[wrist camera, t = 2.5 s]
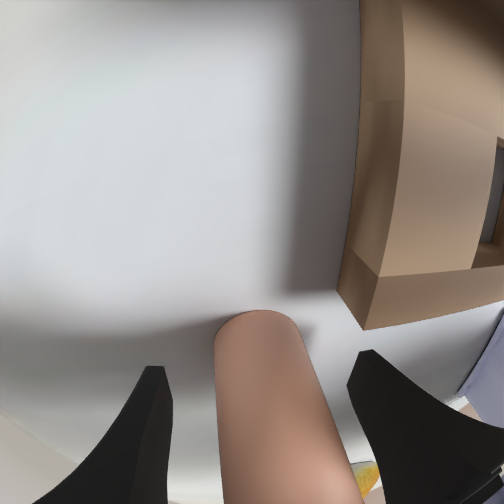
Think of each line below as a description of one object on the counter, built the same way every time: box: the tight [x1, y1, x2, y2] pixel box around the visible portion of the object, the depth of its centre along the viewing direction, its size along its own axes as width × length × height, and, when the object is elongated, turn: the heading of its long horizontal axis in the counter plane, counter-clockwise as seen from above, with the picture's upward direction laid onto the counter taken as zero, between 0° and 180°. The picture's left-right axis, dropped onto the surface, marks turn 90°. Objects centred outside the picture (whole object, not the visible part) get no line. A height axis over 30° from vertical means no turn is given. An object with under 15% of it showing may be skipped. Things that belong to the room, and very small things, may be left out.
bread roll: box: [350, 461, 380, 498], centre depth 20 cm, size 8×9×4 cm
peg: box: [214, 310, 365, 504], centre depth 8 cm, size 4×4×8 cm
